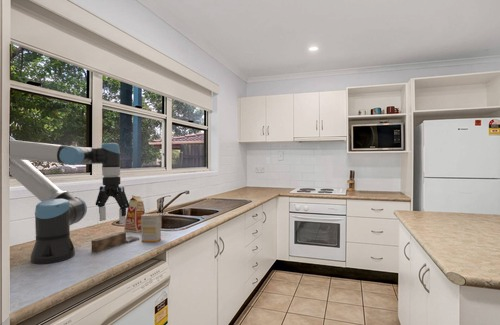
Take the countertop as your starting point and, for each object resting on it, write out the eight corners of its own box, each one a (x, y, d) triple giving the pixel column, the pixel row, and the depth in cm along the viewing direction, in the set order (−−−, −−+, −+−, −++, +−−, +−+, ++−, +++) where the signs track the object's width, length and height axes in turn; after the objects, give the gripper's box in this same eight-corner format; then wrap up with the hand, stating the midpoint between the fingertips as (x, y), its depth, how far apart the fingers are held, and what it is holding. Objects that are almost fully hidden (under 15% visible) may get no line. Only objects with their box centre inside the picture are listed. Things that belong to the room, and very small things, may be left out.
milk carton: (137, 232, 160) (136, 196, 160) (123, 231, 163) (123, 195, 163) (147, 228, 169) (147, 194, 168) (134, 227, 172) (134, 193, 171)
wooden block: (98, 253, 126) (98, 241, 126) (89, 251, 128) (89, 240, 128) (139, 239, 147) (139, 229, 147) (130, 237, 149) (130, 228, 149)
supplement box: (161, 239, 146) (161, 213, 146) (157, 242, 141) (157, 215, 141) (145, 239, 147) (145, 213, 147) (141, 241, 142) (140, 215, 142)
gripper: (137, 176, 133) (138, 222, 133) (101, 175, 144) (101, 217, 145) (123, 177, 126) (124, 226, 127) (86, 176, 137) (87, 221, 138)
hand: (112, 221), depth 136 cm, fingers open, 13 cm apart
